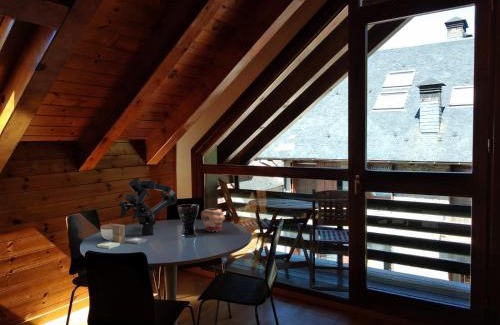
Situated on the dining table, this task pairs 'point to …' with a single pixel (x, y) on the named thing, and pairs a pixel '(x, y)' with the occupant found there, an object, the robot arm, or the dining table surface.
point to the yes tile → (108, 245)
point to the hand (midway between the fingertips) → (126, 218)
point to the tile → (136, 240)
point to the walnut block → (118, 233)
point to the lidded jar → (107, 231)
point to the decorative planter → (212, 219)
